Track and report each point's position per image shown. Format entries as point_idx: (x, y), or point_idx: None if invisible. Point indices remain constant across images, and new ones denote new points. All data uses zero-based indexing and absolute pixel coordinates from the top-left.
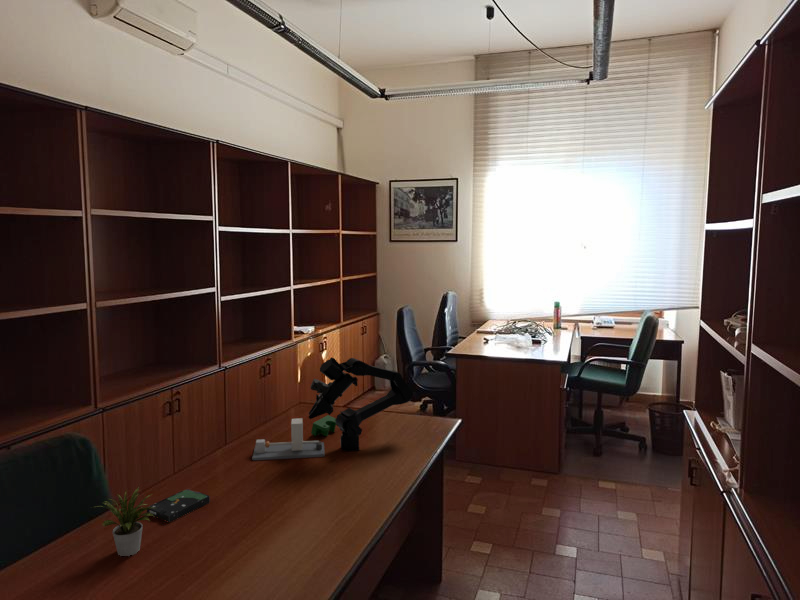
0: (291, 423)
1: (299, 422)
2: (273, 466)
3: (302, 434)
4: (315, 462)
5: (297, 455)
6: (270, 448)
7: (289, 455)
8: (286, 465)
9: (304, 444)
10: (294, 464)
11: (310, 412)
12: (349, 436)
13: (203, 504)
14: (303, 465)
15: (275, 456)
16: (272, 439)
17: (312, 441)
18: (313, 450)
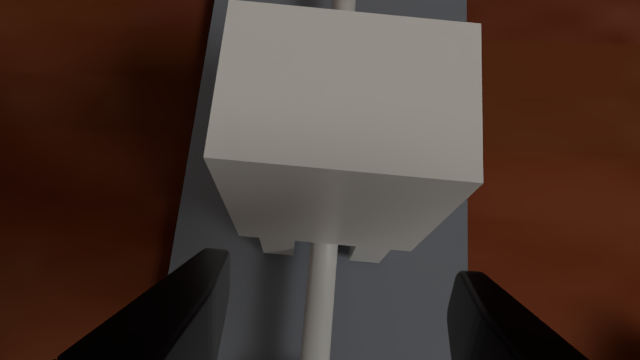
0: (248, 3)
1: (267, 118)
2: (78, 32)
3: (247, 213)
4: (33, 356)
5: (180, 203)
6: (391, 12)
7: (199, 139)
8: (61, 118)
9: (437, 283)
10: (57, 177)
11: (467, 313)
12: None
13: None
14: (7, 246)
15: (210, 38)
16: (636, 47)
17: (308, 351)
18: (260, 358)
